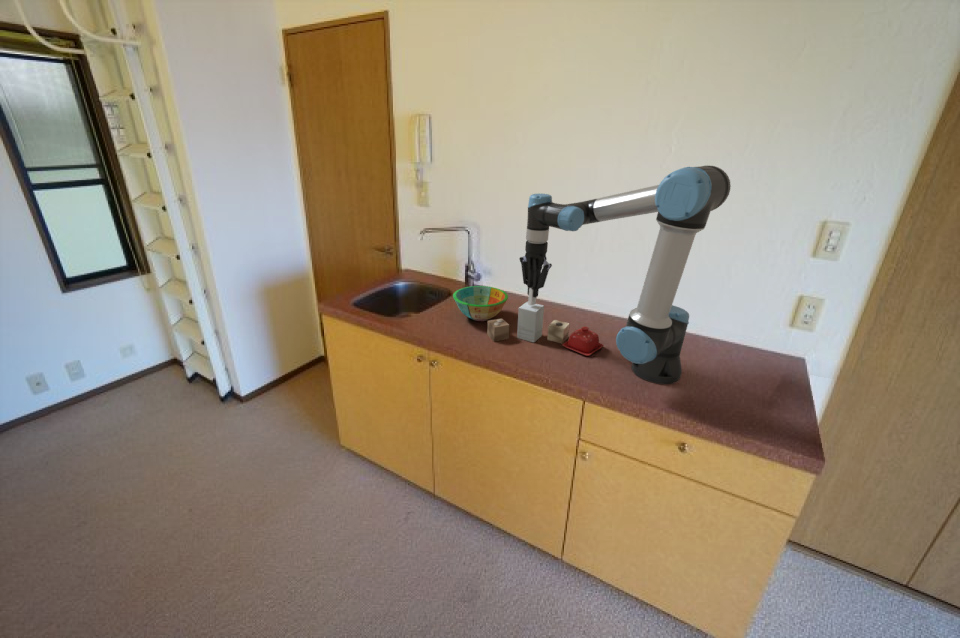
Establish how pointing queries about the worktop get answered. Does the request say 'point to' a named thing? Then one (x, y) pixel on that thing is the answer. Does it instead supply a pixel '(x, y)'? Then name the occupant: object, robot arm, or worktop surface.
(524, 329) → the supplement box
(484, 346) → the worktop surface
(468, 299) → the bowl
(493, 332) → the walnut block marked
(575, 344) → the butter dish
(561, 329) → the beech block marked
